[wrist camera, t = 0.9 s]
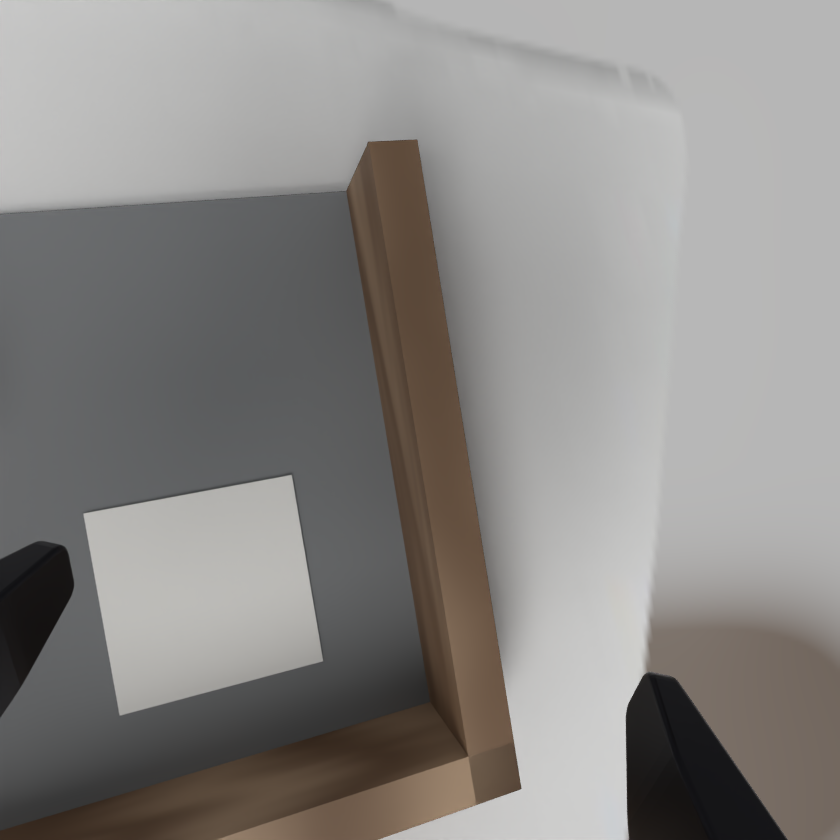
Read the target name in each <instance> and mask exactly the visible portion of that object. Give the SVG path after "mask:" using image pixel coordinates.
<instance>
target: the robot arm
mask: <svg viewBox="0 0 840 840" xmlns="http://www.w3.org/2000/svg"><path fill="white" fill-rule="evenodd" d="M73 590H74V576H73V571H72V566H71V562H70V557H69V552H68V550H67V548H66V547H65V546H63V545H60V544H56V543H51V542H46V541H37V542H34V543H32V544H29V545H27V546H25V547H23V548H21V549H19V550H17V551H15V552H13V553H11V554H9V555H7V556H5V557H3V558H1V559H0V718H1V716H2V715H3V713H4V712H5V710H6V709H7V707H8V706H9V705H10V703H11V702H12V700H13V699H14V697H15V696H16V694H17V693H18V691H19V689H20V688H21V686H22V685H23V683H24V681H25V680H26V678H27V676H28V674H29V673H30V671H31V669H32V667H33V666H34V664H35V662H36V660H37V658H38V656H39V655H40V653H41V651H42V649H43V647H44V646H45V644H46V642H47V640H48V638H49V636H50V635H51V633H52V631H53V629H54V627H55V626H56V624H57V622H58V620H59V618H60V617H61V615H62V613H63V611H64V609H65V607H66V606H67V604H68V602H69V600H70V598H71V596H72V594H73ZM626 764H627V817H628V832H629V840H788V839H787V838H786V836H785V835H784V833H783V832H782V831H781V830H780V828H779V826H778V825H777V823H776V822H775V820H774V819H773V818H772V816H771V815H770V813H769V812H768V810H767V809H766V807H765V806H764V805H763V803H762V802H761V800H760V799H759V797H758V796H757V794H756V793H755V792H754V790H753V789H752V787H751V786H750V784H749V783H748V782H747V780H746V779H745V777H744V776H743V774H742V773H741V771H740V770H739V769H738V767H737V766H736V764H735V763H734V761H733V760H732V758H731V757H730V756H729V754H728V753H727V751H726V750H725V748H724V747H723V746H722V744H721V742H720V741H719V740H718V738H717V737H716V735H715V734H714V732H713V731H712V729H711V728H710V727H709V725H708V724H707V722H706V721H705V719H704V718H703V717H702V715H701V714H700V712H699V711H698V709H697V708H696V706H695V705H694V703H693V702H692V701H691V699H690V698H689V696H688V695H687V693H686V692H685V691H684V689H683V688H682V686H681V685H680V683H679V682H678V681H677V680H676V679H675V678H673V677H671V676H668V675H663V674H659V673H654V672H647V673H646V674H644V676H643V677H642V679H641V681H640V683H639V685H638V686H637V688H636V690H635V692H634V694H633V696H632V698H631V700H630V702H629V704H628V707H627V712H626Z"/></svg>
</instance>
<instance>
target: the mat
mask: <svg viewBox="0 0 840 840" xmlns="http://www.w3.org/2000/svg"><path fill="white" fill-rule="evenodd" d="M37 541H46V542H51V543H56V544H60V545H63V546H65V547H66V548H67V550H68V552H69V557H70V562H71V566H72V571H73V576H74V590H73V594H72V596H71V598H70V600H69V602H68V604H67V606H66V607H65V609H64V611H63V613H62V615H61V617H60V618H59V620H58V622H57V624H56V626H55V627H54V629H53V631H52V633H51V635H50V636H49V638H48V640H47V642H46V644H45V646H44V647H43V649H42V651H41V653H40V655H39V656H38V658H37V660H36V662H35V664H34V666H33V667H32V669H31V671H30V673H29V674H28V676H27V678H26V680H25V681H24V683H23V685H22V686H21V688H20V689H19V691H18V693H17V694H16V696H15V697H14V699H13V700H12V702H11V703H10V705H9V706H8V707H7V709H6V710H5V712H4V713H3V715H2V716H1V718H0V831H1V830H4V829H7V828H11V827H14V826H17V825H21V824H24V823H27V822H31V821H34V820H37V819H41V818H44V817H47V816H51V815H54V814H57V813H61V812H64V811H67V810H71V809H74V808H77V807H81V806H84V805H87V804H91V803H94V802H98V801H101V800H104V799H108V798H111V797H114V796H118V795H121V794H124V793H128V792H131V791H134V790H138V789H141V788H144V787H148V786H151V785H154V784H158V783H161V782H164V781H168V780H171V779H174V778H178V777H181V776H184V775H188V774H191V773H195V772H198V771H201V770H205V769H208V768H211V767H215V766H218V765H221V764H225V763H228V762H231V761H235V760H238V759H241V758H245V757H248V756H251V755H255V754H258V753H261V752H265V751H268V750H271V749H275V748H278V747H281V746H285V745H288V744H292V743H295V742H298V741H302V740H305V739H308V738H312V737H315V736H318V735H322V734H325V733H328V732H332V731H335V730H338V729H342V728H345V727H348V726H352V725H355V724H358V723H362V722H365V721H368V720H372V719H375V718H378V717H382V716H385V715H389V714H392V713H395V712H399V711H402V710H405V709H409V708H412V707H415V706H419V705H422V704H425V703H429V702H430V698H429V692H428V686H427V679H426V673H425V667H424V661H423V655H422V649H421V643H420V637H419V631H418V625H417V619H416V612H415V606H414V600H413V594H412V588H411V582H410V576H409V570H408V564H407V558H406V552H405V545H404V539H403V533H402V527H401V521H400V515H399V509H398V503H397V497H396V491H395V485H394V478H393V472H392V466H391V460H390V454H389V448H388V442H387V436H386V430H385V424H384V418H383V411H382V405H381V399H380V393H379V387H378V381H377V375H376V369H375V363H374V357H373V351H372V344H371V338H370V332H369V326H368V320H367V314H366V308H365V302H364V296H363V290H362V284H361V277H360V271H359V265H358V259H357V253H356V247H355V241H354V235H353V229H352V223H351V217H350V210H349V204H348V198H347V192H346V191H340V192H325V193H310V194H295V195H280V196H265V197H250V198H235V199H220V200H205V201H190V202H175V203H160V204H145V205H130V206H115V207H100V208H85V209H70V210H55V211H40V212H25V213H10V214H0V559H1V558H3V557H5V556H7V555H9V554H11V553H13V552H15V551H17V550H19V549H21V548H23V547H25V546H27V545H29V544H32V543H34V542H37Z"/></svg>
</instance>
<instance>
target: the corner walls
mask: <svg viewBox="0 0 840 840" xmlns="http://www.w3.org/2000/svg"><path fill="white" fill-rule="evenodd" d="M346 192H347V198H348V204H349V210H350V217H351V223H352V229H353V235H354V241H355V247H356V253H357V259H358V265H359V271H360V277H361V284H362V290H363V296H364V302H365V308H366V314H367V320H368V326H369V332H370V338H371V344H372V351H373V357H374V363H375V369H376V375H377V381H378V387H379V393H380V399H381V405H382V411H383V418H384V424H385V430H386V436H387V442H388V448H389V454H390V460H391V466H392V472H393V478H394V485H395V491H396V497H397V503H398V509H399V515H400V521H401V527H402V533H403V539H404V545H405V552H406V558H407V564H408V570H409V576H410V582H411V588H412V594H413V600H414V606H415V612H416V619H417V625H418V631H419V637H420V643H421V649H422V655H423V661H424V667H425V673H426V679H427V686H428V692H429V698H430V702H429V703H425V704H422V705H419V706H415V707H412V708H409V709H405V710H402V711H399V712H395V713H392V714H389V715H385V716H382V717H378V718H375V719H372V720H368V721H365V722H362V723H358V724H355V725H352V726H348V727H345V728H342V729H338V730H335V731H332V732H328V733H325V734H322V735H318V736H315V737H312V738H308V739H305V740H302V741H298V742H295V743H292V744H288V745H285V746H281V747H278V748H275V749H271V750H268V751H265V752H261V753H258V754H255V755H251V756H248V757H245V758H241V759H238V760H235V761H231V762H228V763H225V764H221V765H218V766H215V767H211V768H208V769H205V770H201V771H198V772H195V773H191V774H188V775H184V776H181V777H178V778H174V779H171V780H168V781H164V782H161V783H158V784H154V785H151V786H148V787H144V788H141V789H138V790H134V791H131V792H128V793H124V794H121V795H118V796H114V797H111V798H108V799H104V800H101V801H98V802H94V803H91V804H87V805H84V806H81V807H77V808H74V809H71V810H67V811H64V812H61V813H57V814H54V815H51V816H47V817H44V818H41V819H37V820H34V821H31V822H27V823H24V824H21V825H17V826H14V827H11V828H7V829H4V830H1V831H0V840H378V839H381V838H384V837H387V836H390V835H392V834H395V833H398V832H401V831H404V830H407V829H409V828H412V827H415V826H418V825H421V824H424V823H426V822H429V821H432V820H435V819H438V818H441V817H443V816H446V815H449V814H452V813H455V812H458V811H460V810H463V809H466V808H469V807H472V806H475V805H477V804H480V803H483V802H486V801H489V800H492V799H494V798H497V797H500V796H503V795H506V794H509V793H511V792H514V791H517V790H520V789H521V784H520V777H519V771H518V765H517V759H516V752H515V746H514V740H513V734H512V728H511V721H510V715H509V709H508V703H507V696H506V690H505V684H504V678H503V671H502V665H501V659H500V653H499V646H498V640H497V634H496V628H495V621H494V615H493V609H492V603H491V597H490V590H489V584H488V578H487V572H486V565H485V559H484V553H483V547H482V540H481V534H480V528H479V522H478V515H477V509H476V503H475V497H474V491H473V484H472V478H471V472H470V466H469V459H468V453H467V447H466V441H465V434H464V428H463V422H462V416H461V409H460V403H459V397H458V391H457V385H456V378H455V372H454V366H453V360H452V353H451V347H450V341H449V335H448V328H447V322H446V316H445V310H444V303H443V297H442V291H441V285H440V279H439V272H438V266H437V260H436V254H435V247H434V241H433V235H432V229H431V222H430V216H429V210H428V204H427V197H426V191H425V185H424V179H423V173H422V166H421V160H420V154H419V148H418V141H417V140H398V141H376V142H368V144H367V146H366V148H365V151H364V153H363V155H362V157H361V160H360V162H359V164H358V166H357V168H356V171H355V173H354V175H353V177H352V180H351V182H350V184H349V186H348V188H347V191H346Z"/></svg>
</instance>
